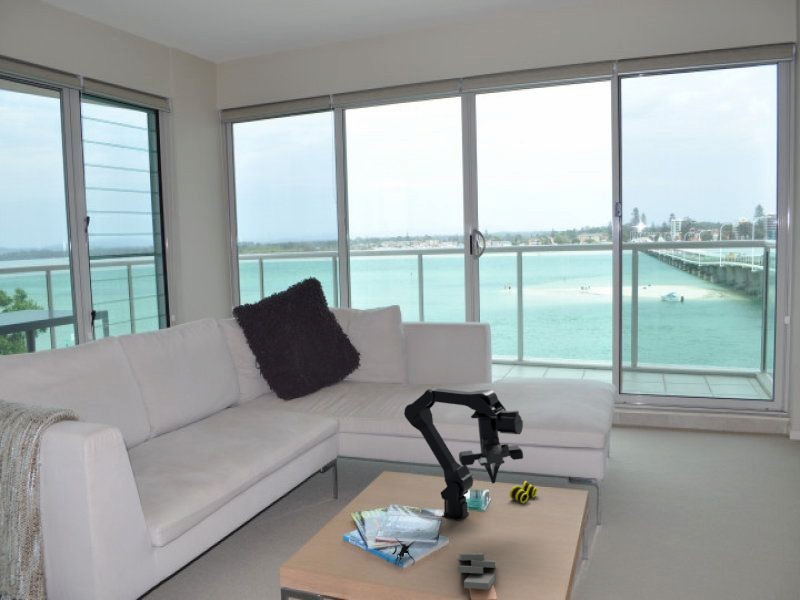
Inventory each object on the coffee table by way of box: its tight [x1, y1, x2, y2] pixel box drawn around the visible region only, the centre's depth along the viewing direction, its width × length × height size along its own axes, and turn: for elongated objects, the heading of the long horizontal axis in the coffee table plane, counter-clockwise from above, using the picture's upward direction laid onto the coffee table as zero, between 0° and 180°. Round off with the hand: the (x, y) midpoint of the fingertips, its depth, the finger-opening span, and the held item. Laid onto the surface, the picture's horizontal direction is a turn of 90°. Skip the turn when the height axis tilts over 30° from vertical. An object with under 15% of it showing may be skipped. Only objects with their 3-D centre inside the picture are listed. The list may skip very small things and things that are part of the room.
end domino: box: [468, 583, 498, 600], centre depth 160 cm, size 1×6×9 cm
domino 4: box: [463, 572, 496, 589], centre depth 162 cm, size 1×6×9 cm
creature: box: [386, 538, 416, 566], centre depth 178 cm, size 8×5×8 cm
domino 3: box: [457, 564, 484, 574], centre depth 167 cm, size 1×6×9 cm
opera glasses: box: [509, 480, 538, 504], centre depth 219 cm, size 10×5×5 cm, turn 137°
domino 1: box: [458, 552, 485, 561], centre depth 174 cm, size 1×6×9 cm
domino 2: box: [470, 559, 496, 569], centre depth 170 cm, size 1×6×9 cm
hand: (493, 483), depth 199 cm, fingers closed
